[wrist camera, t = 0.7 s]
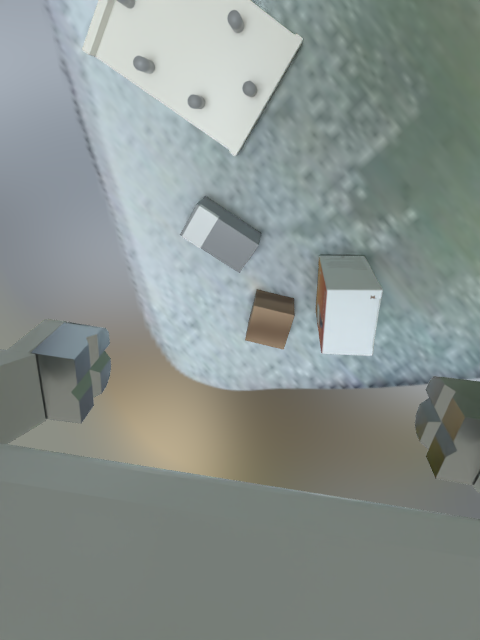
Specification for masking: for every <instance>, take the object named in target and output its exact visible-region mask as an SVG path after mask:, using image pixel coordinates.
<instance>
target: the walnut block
mask: <svg viewBox="0 0 480 640" xmlns="http://www.w3.org/2000/svg"><path fill="white" fill-rule="evenodd" d="M294 316H295V313H294V298H290V297H286V296H282V295H278V294H274V293H270V292H265V291H261V290H257V291H256V295H255V299H254V303H253V307H252V311H251V315H250V318H249V322H248V328H247V333H246V339H245V340H246V341H251V342H255V343H259V344H263V345H267V346H271V347H275V348H280V349H284V347H285V344H286V341H287V337H288V334H289V331H290V328H291V325H292V322H293V319H294Z"/></svg>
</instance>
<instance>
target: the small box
mask: <svg viewBox="0 0 480 640" xmlns="http://www.w3.org/2000/svg"><path fill="white" fill-rule="evenodd" d="M382 293H383V289H382V288H381V286H380V284H379V282H378V280H377V278H376V277H375V275H374V273H373V271H372V269H371V267H370V265H369V264H368V262H367V260H366V258H365V256H319V268H318V284H317V297H316V316H317V324H318V331H319V339H320V346H321V353H322V354H341V355H365V356H372V355H373V348H374V340H375V333H376V326H377V320H378V313H379V308H380V302H381V298H382Z"/></svg>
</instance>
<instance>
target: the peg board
mask: <svg viewBox="0 0 480 640" xmlns="http://www.w3.org/2000/svg"><path fill="white" fill-rule="evenodd" d="M302 42H303V38H302V37H300V36H299V35H298V34H297V33H296V34H295V35H294V34H293V33H292V32H290V31H289V30H288V29H286V28H285V27H284V26H283V25H281V24H280V23H279V22H277V21H276V20H275V19H274V18H272V17H271V16H270V15H268V14H267V13H266V12H265V11H263V10H262V9H261V8H259V7H258V6H257V5H256V4H254V3H253V2H252V1H251V0H98V3H97V6H96V9H95V12H94V15H93V18H92V21H91V24H90V27H89V30H88V33H87V36H86V39H85V42H84V45H83V48H82V50H83V51H84V52H86V53H87V54H89V55H91V56H94V57H96V58H98V59H99V60H101V61H102V62H104V63H105V64H106V65H108V66H109V67H111V68H112V69H114V70H115V71H116V72H118V73H119V74H121V75H122V76H124V77H125V78H127V79H128V80H129V81H131V82H132V83H134V84H135V85H137V86H138V87H140V88H141V89H142V90H144V91H145V92H147V93H148V94H150V95H151V96H152V97H154V98H155V99H157V100H158V101H160V102H161V103H163V104H164V105H165V106H167V107H168V108H170V109H171V110H173V111H174V112H175V113H177V114H178V115H180V116H181V117H183V118H184V119H186V120H187V121H188V122H190V123H191V124H193V125H194V126H196V127H197V128H198V129H200V130H201V131H203V132H204V133H206V134H207V135H209V136H210V137H211V138H213V139H214V140H216V141H217V142H219V143H220V144H222V145H223V146H224V147H226V148H227V149H229V150H230V151H229V152H230V153H231V154H233V155H234V156H237V155H238V153H239V152H240V150H241V148H242V147H243V145H244V143H245V141H246V140H247V138H248V136H249V134H250V133H251V131H252V129H253V127H254V126H255V124H256V122H257V121H258V119H259V117H260V115H261V114H262V112H263V110H264V108H265V107H266V105H267V103H268V102H269V100H270V98H271V96H272V95H273V93H274V91H275V89H276V88H277V86H278V84H279V82H280V81H281V79H282V77H283V76H284V74H285V72H286V70H287V69H288V67H289V65H290V63H291V62H292V60H293V58H294V57H295V55H296V53H297V51H298V50H299V48H300V46H301V44H302Z"/></svg>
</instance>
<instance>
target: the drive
mask: <svg viewBox="0 0 480 640" xmlns="http://www.w3.org/2000/svg"><path fill="white" fill-rule="evenodd" d="M180 235H181V236H182V237H183V238H184V239H186V240H187V241H189V242H191V243H192V244H194V245H195V246H197V247H198V248H201V249H203V250H204V251H206V252H208V253H209V254H211V255H212V256H214V257H215V258H217V259H219V260H220V261H222V262H223V263H225V264H226V265H228V266H229V267H231V268H233V269H234V270H236V271H237V272H239V273H240V272H241V270H242V269H243V267H244V266H245V264H246V263H247V261H248V260H249V259H250V257H251V256H252V254H253V253H254V251H255V250H256V248H257V247H258V245H259V242H260V237H261V233H260V232H259V231H257V230H256V229H254V228H253V227H251V226H250V225H248V224H247V223H245V222H244V221H242V220H241V219H239V218H238V217H236V216H235V215H233V214H232V213H230V212H229V211H227V210H226V209H224V208H223V207H221V206H220V205H218V204H217V203H215V202H214V201H212V200H211V199H209V198H208V197H206V196H205V197H204V198H203V199H202V200H201V201H200V202H199V203H198V204H197V205H196V207H195V209H194V210H193V212H192V214H191V216H190V217H189V219H188V221H187V223H186V225H185V226H184V228H183V230H182V232H181V233H180Z"/></svg>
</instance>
